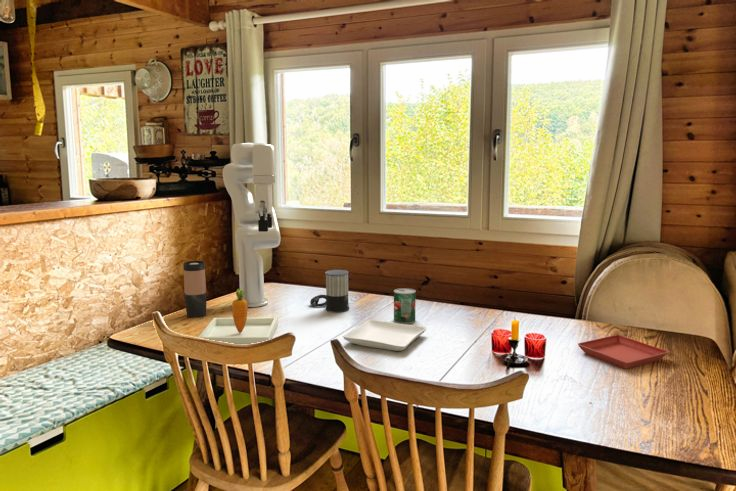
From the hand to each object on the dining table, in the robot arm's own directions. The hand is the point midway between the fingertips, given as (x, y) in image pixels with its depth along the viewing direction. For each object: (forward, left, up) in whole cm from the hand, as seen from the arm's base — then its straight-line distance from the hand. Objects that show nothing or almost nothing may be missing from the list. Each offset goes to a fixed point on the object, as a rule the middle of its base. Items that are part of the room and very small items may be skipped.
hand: (265, 229), depth 200 cm
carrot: (+16, -7, -33) cm, 37 cm away
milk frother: (-18, +21, -34) cm, 44 cm away
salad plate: (+22, +41, -34) cm, 58 cm away
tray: (+16, -7, -33) cm, 38 cm away
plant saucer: (+39, +110, -34) cm, 122 cm away
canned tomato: (0, +49, -34) cm, 59 cm away
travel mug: (-9, -28, -34) cm, 45 cm away
